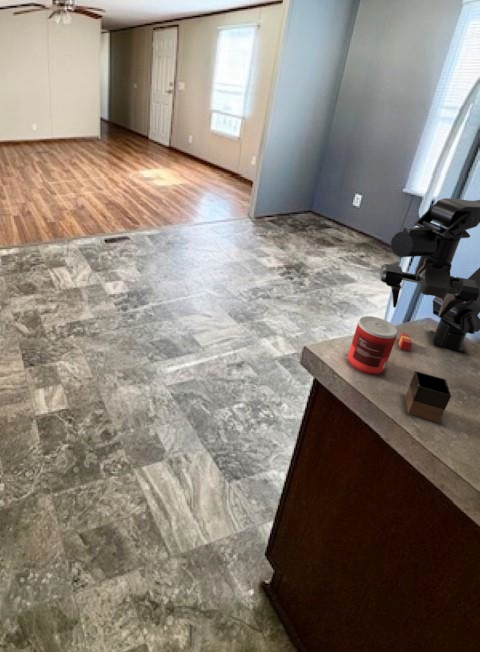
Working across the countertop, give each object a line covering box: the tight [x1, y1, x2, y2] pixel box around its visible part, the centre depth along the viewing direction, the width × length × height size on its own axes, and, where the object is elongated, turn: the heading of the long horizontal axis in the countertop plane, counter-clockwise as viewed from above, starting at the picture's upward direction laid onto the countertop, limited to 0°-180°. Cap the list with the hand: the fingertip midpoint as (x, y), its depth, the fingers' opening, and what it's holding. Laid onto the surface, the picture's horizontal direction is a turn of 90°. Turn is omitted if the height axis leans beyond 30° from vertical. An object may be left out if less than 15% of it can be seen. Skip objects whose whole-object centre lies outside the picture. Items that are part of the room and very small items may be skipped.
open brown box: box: [409, 370, 452, 411], centre depth 85 cm, size 5×5×4 cm
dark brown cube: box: [404, 384, 445, 424], centre depth 87 cm, size 5×5×4 cm
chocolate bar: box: [398, 332, 413, 352], centre depth 107 cm, size 4×2×2 cm, turn 152°
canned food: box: [347, 315, 399, 375], centre depth 98 cm, size 8×8×11 cm
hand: (416, 311), depth 103 cm, fingers open, 9 cm apart
